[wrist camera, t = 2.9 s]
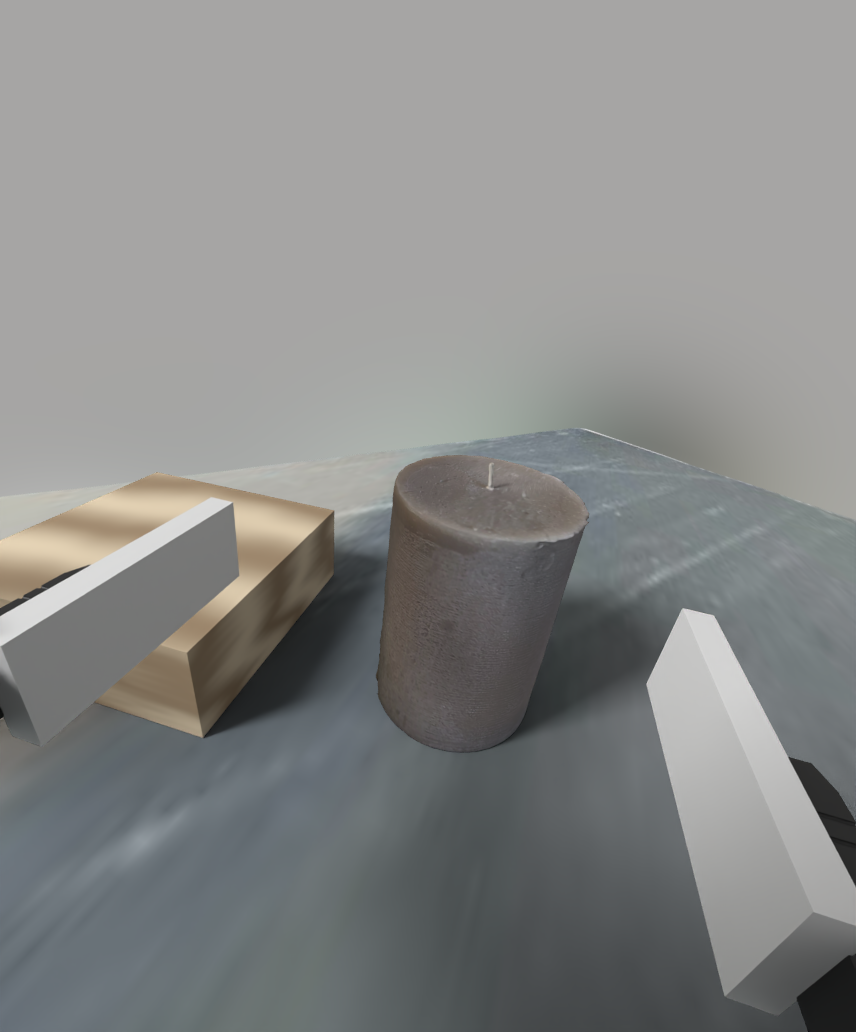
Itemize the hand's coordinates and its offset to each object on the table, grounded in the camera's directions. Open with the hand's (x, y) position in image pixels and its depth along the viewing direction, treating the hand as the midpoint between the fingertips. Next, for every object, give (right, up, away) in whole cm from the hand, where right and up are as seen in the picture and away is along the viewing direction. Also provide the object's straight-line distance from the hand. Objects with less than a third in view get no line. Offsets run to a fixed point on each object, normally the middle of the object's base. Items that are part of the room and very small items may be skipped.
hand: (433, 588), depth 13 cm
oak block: (-18, -4, +19) cm, 26 cm away
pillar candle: (+1, -9, +15) cm, 18 cm away
